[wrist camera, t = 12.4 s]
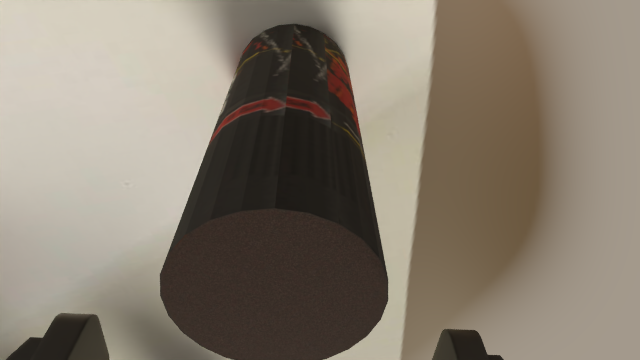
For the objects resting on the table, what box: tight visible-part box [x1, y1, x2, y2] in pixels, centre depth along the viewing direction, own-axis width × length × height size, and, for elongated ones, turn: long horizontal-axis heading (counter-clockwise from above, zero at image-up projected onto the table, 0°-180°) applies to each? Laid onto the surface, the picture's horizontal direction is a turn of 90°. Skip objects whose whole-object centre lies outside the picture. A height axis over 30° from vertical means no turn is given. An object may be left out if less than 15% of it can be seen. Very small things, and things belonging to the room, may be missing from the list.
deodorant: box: [160, 24, 388, 360], centre depth 18 cm, size 6×6×15 cm
